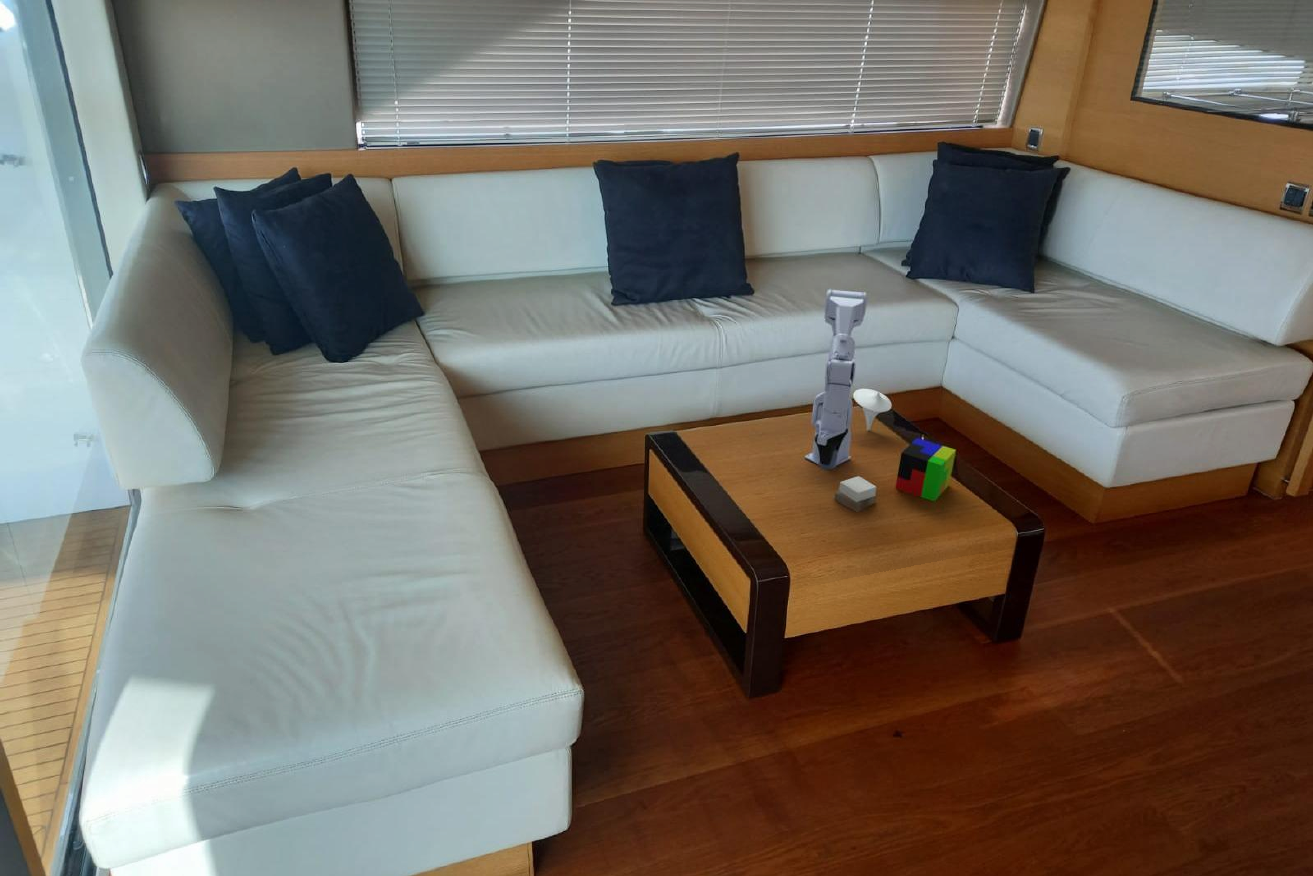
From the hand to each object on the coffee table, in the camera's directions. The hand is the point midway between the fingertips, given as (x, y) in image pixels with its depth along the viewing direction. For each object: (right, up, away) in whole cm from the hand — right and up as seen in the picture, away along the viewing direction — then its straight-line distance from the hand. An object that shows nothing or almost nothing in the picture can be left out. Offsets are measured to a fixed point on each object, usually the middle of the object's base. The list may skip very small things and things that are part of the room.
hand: (828, 460), depth 223 cm
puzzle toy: (+25, -7, +8) cm, 27 cm away
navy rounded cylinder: (0, -1, +1) cm, 1 cm away
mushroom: (+18, +7, +36) cm, 41 cm away
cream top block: (+7, -8, 0) cm, 10 cm away
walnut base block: (+7, -10, +1) cm, 12 cm away
